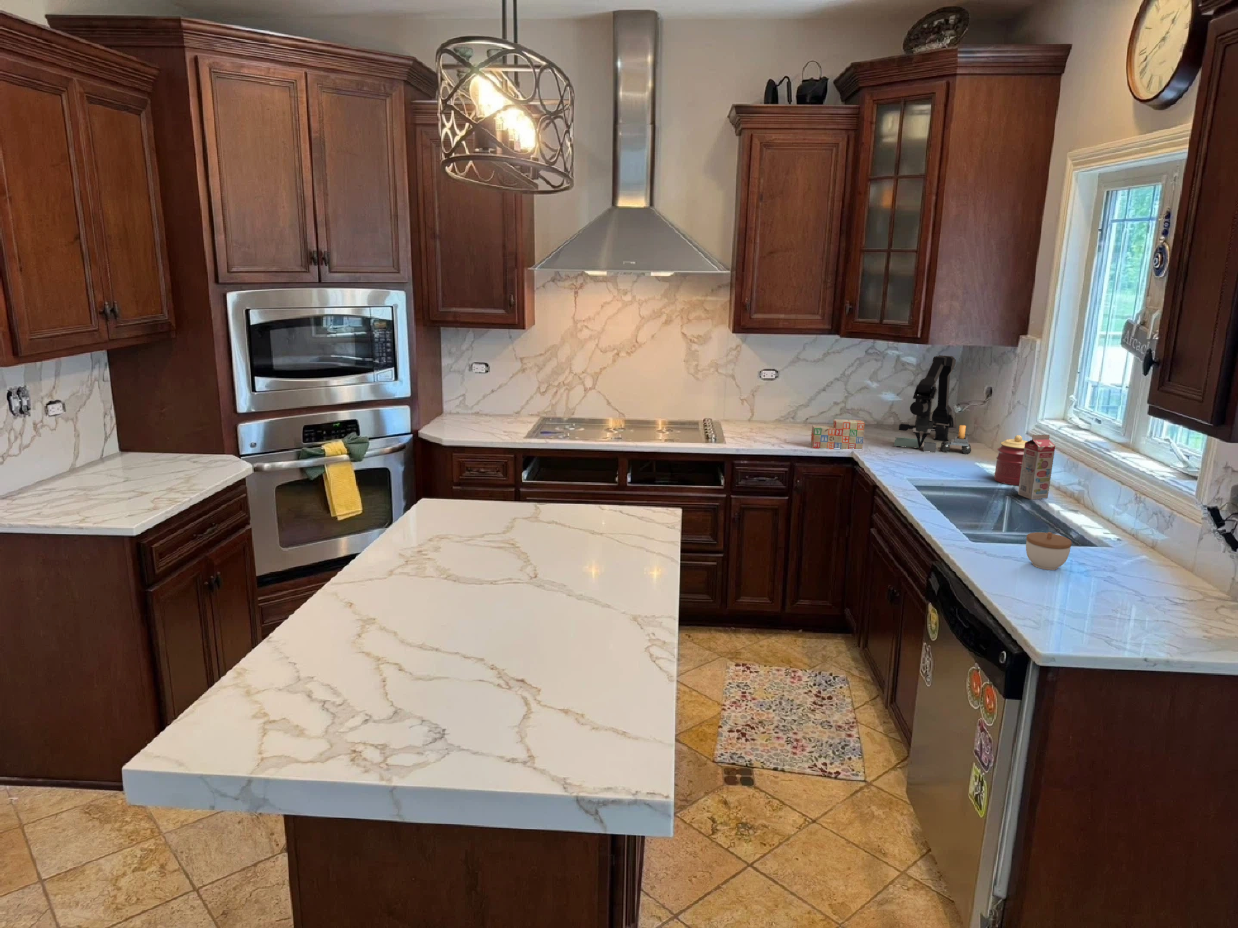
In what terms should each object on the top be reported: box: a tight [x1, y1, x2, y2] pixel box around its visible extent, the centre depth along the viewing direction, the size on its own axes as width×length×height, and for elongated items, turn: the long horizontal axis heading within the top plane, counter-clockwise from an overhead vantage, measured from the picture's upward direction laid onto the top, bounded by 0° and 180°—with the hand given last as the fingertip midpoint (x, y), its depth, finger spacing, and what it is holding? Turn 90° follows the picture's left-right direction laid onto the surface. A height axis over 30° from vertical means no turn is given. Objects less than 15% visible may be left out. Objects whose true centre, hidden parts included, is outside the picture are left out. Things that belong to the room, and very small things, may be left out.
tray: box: [893, 436, 922, 449], centre depth 366 cm, size 6×11×3 cm, turn 69°
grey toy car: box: [940, 435, 972, 455], centre depth 357 cm, size 8×12×6 cm, turn 69°
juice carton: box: [1017, 434, 1056, 500], centre depth 286 cm, size 7×7×22 cm
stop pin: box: [957, 424, 967, 439], centre depth 355 cm, size 3×3×7 cm
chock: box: [922, 441, 937, 453], centre depth 357 cm, size 4×5×4 cm
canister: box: [993, 434, 1029, 486], centre depth 306 cm, size 13×13×18 cm
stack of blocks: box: [810, 419, 866, 450], centre depth 359 cm, size 21×6×12 cm, turn 86°
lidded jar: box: [1025, 531, 1073, 571], centre depth 220 cm, size 11×11×9 cm
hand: (919, 447), depth 359 cm, fingers closed
